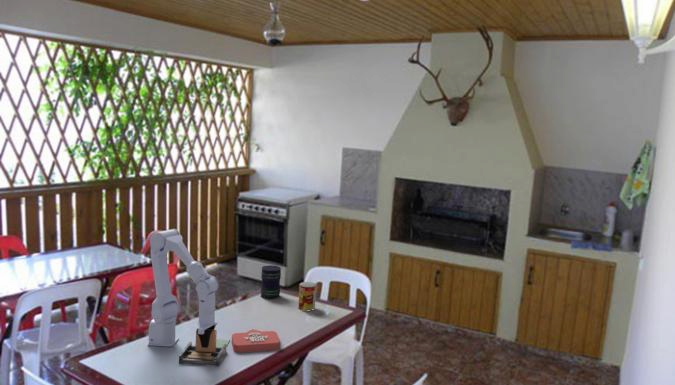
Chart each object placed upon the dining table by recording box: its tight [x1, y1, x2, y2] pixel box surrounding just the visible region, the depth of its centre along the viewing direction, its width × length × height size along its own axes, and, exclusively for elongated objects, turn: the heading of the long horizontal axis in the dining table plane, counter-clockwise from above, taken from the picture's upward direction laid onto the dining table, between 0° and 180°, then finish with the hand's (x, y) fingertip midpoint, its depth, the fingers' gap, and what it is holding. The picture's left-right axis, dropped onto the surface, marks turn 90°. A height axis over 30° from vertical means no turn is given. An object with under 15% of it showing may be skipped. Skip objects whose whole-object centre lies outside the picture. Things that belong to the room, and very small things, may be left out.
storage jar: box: [260, 264, 282, 300], centre depth 256 cm, size 10×10×15 cm
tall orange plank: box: [195, 329, 218, 352], centre depth 186 cm, size 7×2×9 cm, turn 89°
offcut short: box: [191, 352, 211, 356], centre depth 182 cm, size 7×2×2 cm, turn 89°
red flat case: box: [231, 328, 281, 354], centre depth 198 cm, size 18×4×15 cm
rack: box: [178, 341, 227, 367], centre depth 183 cm, size 14×12×3 cm
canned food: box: [298, 281, 317, 312], centre depth 241 cm, size 8×8×12 cm
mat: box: [194, 338, 231, 348], centre depth 195 cm, size 12×8×1 cm, turn 89°
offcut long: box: [186, 355, 215, 360], centre depth 180 cm, size 9×2×2 cm, turn 87°
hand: (205, 345), depth 186 cm, fingers closed on tall orange plank, 2 cm apart
